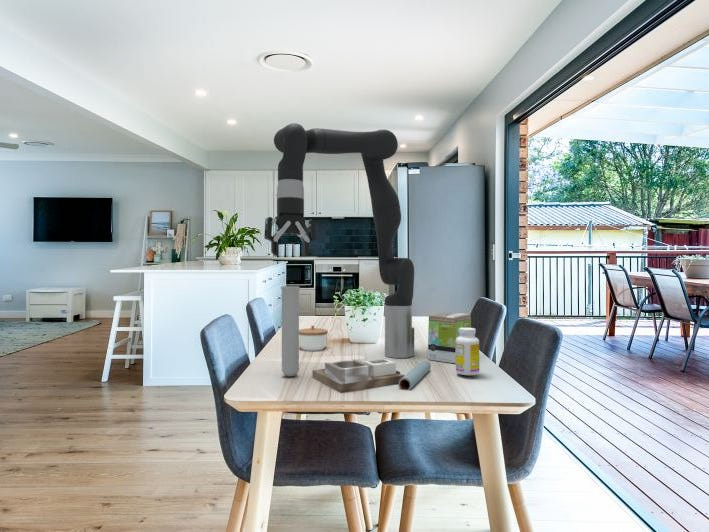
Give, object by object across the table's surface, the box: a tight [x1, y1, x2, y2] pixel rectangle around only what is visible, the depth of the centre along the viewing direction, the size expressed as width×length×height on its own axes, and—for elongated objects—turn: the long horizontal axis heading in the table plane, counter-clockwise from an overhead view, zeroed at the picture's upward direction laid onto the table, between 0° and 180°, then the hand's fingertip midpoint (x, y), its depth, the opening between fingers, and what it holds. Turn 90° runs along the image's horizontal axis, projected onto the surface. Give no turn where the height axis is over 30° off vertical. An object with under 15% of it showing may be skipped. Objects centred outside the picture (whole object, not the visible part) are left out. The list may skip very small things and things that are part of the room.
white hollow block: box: [363, 358, 397, 377], centre depth 119 cm, size 7×5×3 cm
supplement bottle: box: [455, 327, 480, 376], centre depth 128 cm, size 7×7×13 cm
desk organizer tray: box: [312, 359, 406, 393], centre depth 120 cm, size 19×17×6 cm
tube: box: [280, 285, 301, 377], centre depth 124 cm, size 5×5×25 cm
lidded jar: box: [299, 325, 328, 352], centre depth 160 cm, size 11×11×9 cm
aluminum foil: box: [397, 359, 432, 391], centre depth 122 cm, size 23×7×3 cm, turn 158°
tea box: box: [427, 312, 472, 364], centre depth 150 cm, size 15×10×15 cm, turn 148°
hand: (290, 255), depth 124 cm, fingers open, 8 cm apart
